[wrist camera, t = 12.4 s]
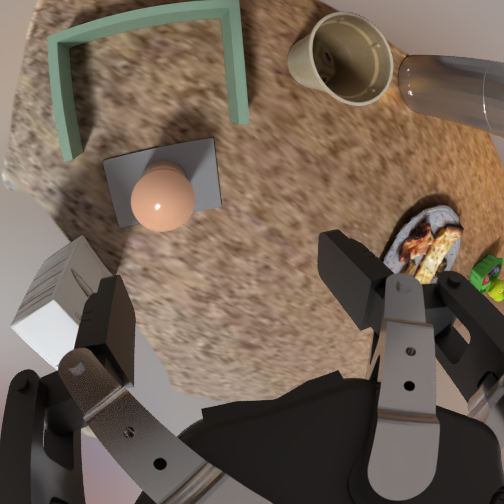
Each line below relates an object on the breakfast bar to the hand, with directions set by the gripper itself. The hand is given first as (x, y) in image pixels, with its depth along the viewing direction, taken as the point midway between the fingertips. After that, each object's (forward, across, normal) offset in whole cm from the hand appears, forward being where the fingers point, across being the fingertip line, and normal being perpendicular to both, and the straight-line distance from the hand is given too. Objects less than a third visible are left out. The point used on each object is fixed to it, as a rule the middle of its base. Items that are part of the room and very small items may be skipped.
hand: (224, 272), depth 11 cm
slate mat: (+22, +3, +2) cm, 22 cm away
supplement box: (+22, +16, +10) cm, 29 cm away
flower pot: (+23, -15, -10) cm, 29 cm away
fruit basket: (+24, -69, +35) cm, 81 cm away
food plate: (+23, -38, +24) cm, 50 cm away
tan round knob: (+22, +3, +2) cm, 22 cm away
